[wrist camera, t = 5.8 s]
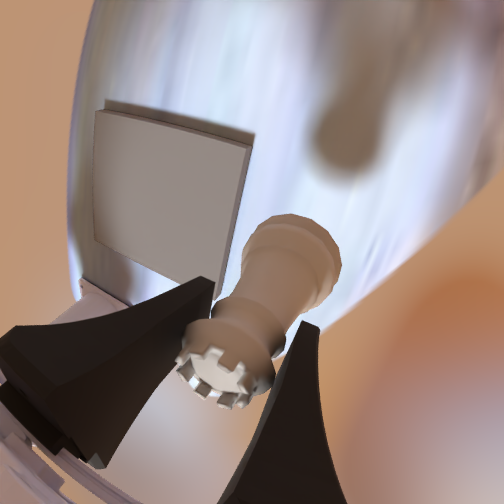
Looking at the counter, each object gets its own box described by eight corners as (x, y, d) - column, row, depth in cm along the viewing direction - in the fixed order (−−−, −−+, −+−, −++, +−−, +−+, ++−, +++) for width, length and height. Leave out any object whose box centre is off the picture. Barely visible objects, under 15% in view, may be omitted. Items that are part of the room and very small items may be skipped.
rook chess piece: (293, 189, 14) (186, 295, 7) (363, 262, 14) (316, 411, 8) (236, 247, 16) (132, 353, 10) (298, 308, 17) (227, 435, 10)
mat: (220, 293, 26) (214, 300, 25) (101, 235, 28) (94, 240, 28) (252, 146, 19) (246, 148, 18) (104, 109, 22) (95, 111, 21)
